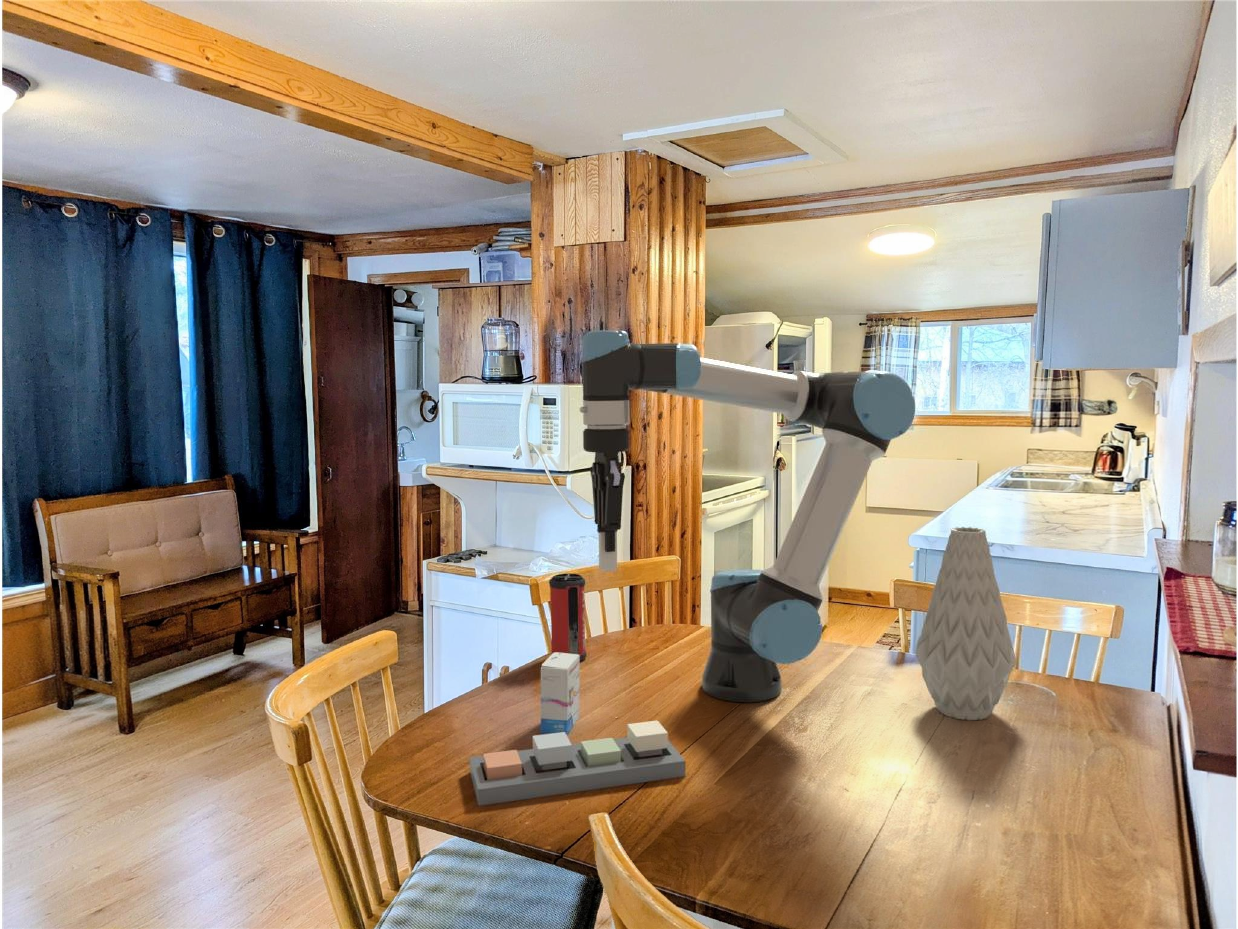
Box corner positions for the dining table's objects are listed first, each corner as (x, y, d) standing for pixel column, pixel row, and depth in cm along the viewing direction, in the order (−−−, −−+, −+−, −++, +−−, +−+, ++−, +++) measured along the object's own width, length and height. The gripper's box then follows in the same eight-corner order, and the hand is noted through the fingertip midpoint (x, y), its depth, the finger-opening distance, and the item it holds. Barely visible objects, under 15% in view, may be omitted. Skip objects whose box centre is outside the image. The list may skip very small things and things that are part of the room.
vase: (960, 688, 165) (964, 518, 162) (1035, 718, 150) (1042, 532, 147) (893, 703, 158) (896, 526, 154) (964, 736, 143) (970, 541, 140)
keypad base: (662, 746, 140) (662, 732, 140) (685, 776, 130) (685, 760, 129) (470, 772, 132) (469, 757, 132) (478, 805, 121) (477, 789, 121)
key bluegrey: (565, 754, 133) (564, 731, 132) (572, 768, 128) (571, 745, 127) (533, 758, 131) (532, 735, 131) (538, 772, 126) (538, 749, 126)
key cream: (657, 742, 137) (657, 720, 136) (667, 755, 132) (667, 732, 132) (627, 746, 135) (627, 724, 135) (636, 759, 131) (636, 736, 130)
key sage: (612, 759, 135) (611, 737, 134) (620, 773, 130) (620, 750, 130) (581, 763, 133) (580, 741, 133) (588, 778, 129) (588, 754, 128)
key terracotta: (517, 772, 131) (516, 749, 130) (522, 787, 126) (521, 763, 126) (483, 776, 129) (483, 753, 129) (488, 792, 125) (487, 768, 124)
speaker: (554, 652, 190) (552, 572, 188) (588, 653, 189) (587, 572, 187) (547, 663, 182) (545, 580, 180) (583, 664, 181) (582, 580, 179)
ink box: (568, 736, 145) (567, 668, 144) (539, 734, 146) (538, 666, 145) (580, 717, 153) (579, 652, 152) (553, 715, 154) (552, 650, 153)
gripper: (574, 425, 145) (577, 563, 147) (593, 429, 132) (595, 580, 135) (617, 424, 147) (619, 560, 149) (640, 428, 134) (641, 577, 137)
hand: (608, 569), depth 142 cm, fingers closed
